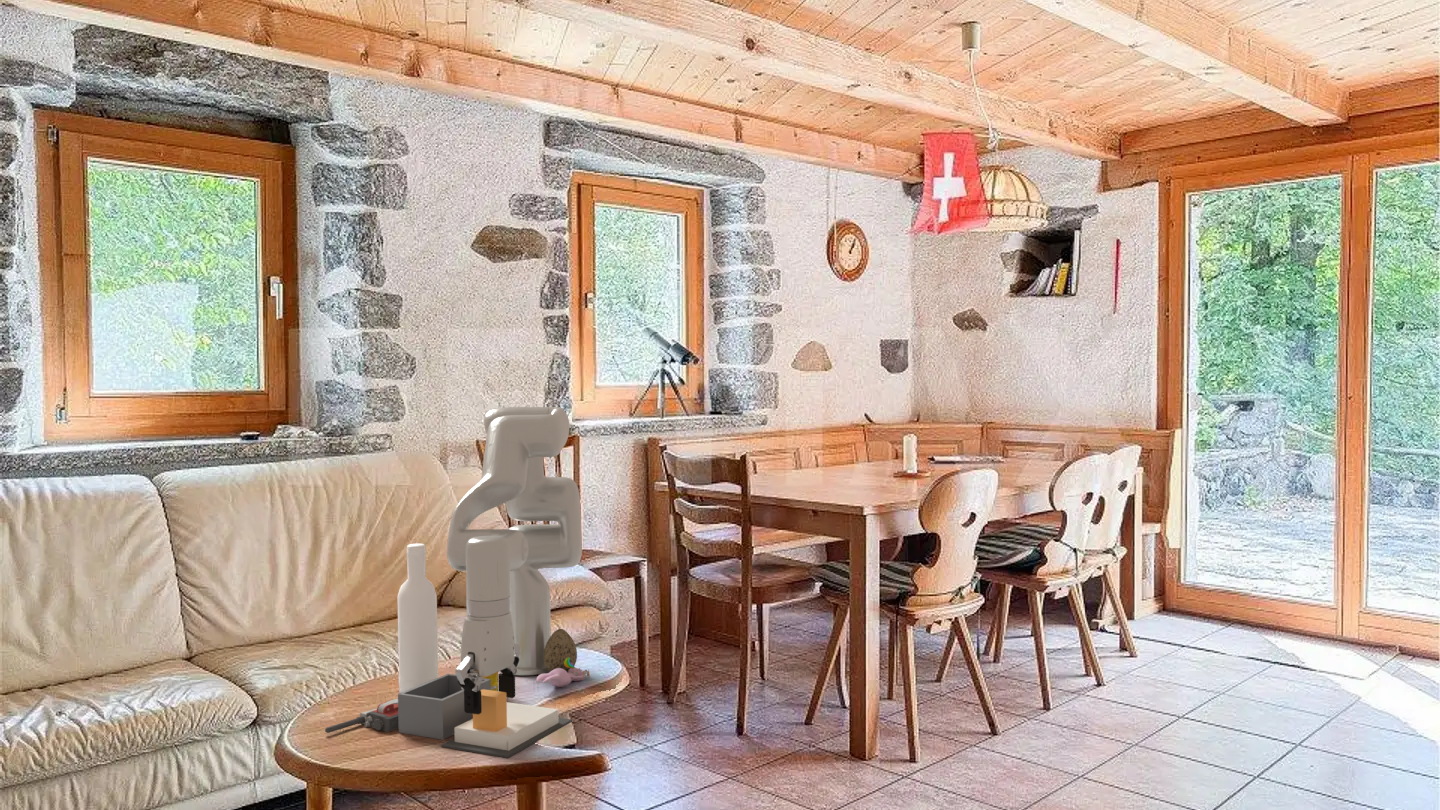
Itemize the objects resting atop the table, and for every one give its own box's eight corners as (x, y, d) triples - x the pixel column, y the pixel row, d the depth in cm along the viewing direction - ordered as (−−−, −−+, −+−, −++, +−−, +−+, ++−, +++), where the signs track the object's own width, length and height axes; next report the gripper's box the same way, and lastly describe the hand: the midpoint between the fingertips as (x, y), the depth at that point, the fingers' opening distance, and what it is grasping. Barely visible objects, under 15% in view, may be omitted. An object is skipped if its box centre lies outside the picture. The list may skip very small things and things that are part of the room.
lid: (507, 715, 197) (506, 670, 197) (558, 722, 192) (557, 676, 192) (454, 741, 183) (453, 693, 183) (508, 750, 178) (507, 701, 178)
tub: (448, 709, 202) (448, 673, 202) (491, 716, 198) (490, 679, 198) (398, 732, 189) (397, 694, 189) (443, 739, 185) (442, 700, 185)
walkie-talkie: (413, 708, 205) (322, 737, 189) (412, 685, 205) (321, 712, 188) (442, 716, 200) (351, 746, 183) (442, 693, 200) (351, 721, 183)
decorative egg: (541, 671, 227) (541, 626, 227) (573, 669, 229) (574, 623, 229) (545, 681, 220) (546, 634, 220) (579, 678, 222) (579, 631, 222)
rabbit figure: (571, 681, 225) (526, 688, 212) (574, 653, 225) (529, 658, 212) (595, 685, 222) (551, 693, 209) (597, 657, 222) (553, 662, 209)
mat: (509, 712, 200) (509, 710, 200) (572, 721, 194) (572, 719, 194) (441, 746, 182) (441, 744, 182) (507, 758, 176) (507, 755, 176)
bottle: (432, 695, 211) (429, 547, 210) (393, 696, 211) (390, 548, 210) (443, 684, 219) (440, 541, 218) (406, 684, 219) (403, 541, 218)
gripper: (500, 596, 192) (502, 688, 192) (438, 616, 176) (440, 717, 177) (535, 599, 189) (536, 693, 189) (475, 620, 173) (477, 722, 174)
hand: (490, 704), depth 183 cm, fingers open, 9 cm apart
